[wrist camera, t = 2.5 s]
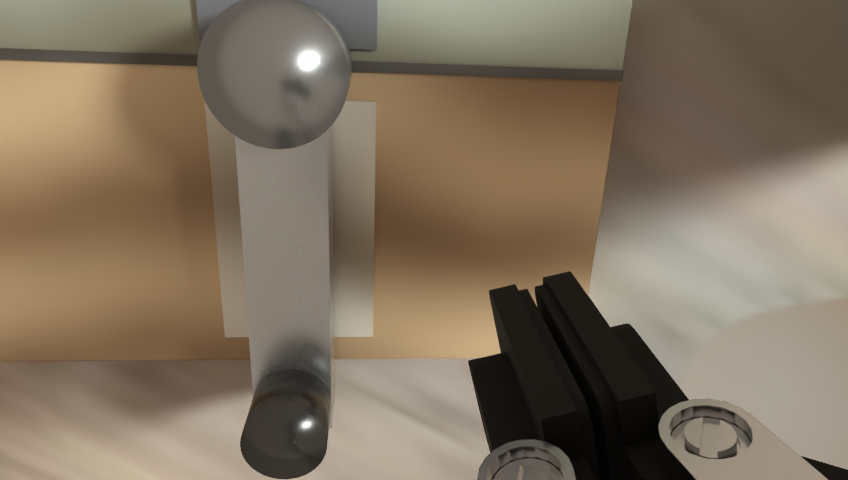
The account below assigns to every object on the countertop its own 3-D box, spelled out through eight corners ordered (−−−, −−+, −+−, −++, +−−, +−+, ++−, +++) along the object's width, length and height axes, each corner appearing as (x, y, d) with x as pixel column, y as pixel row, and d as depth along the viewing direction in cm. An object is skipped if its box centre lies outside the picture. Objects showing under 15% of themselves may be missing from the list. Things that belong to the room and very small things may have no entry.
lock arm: (220, -6, 17) (174, -9, 13) (352, 0, 17) (346, -2, 13) (249, 393, 21) (221, 480, 17) (352, 392, 22) (348, 477, 18)
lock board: (568, 340, 23) (608, 407, 19) (19, 342, 22) (-59, 417, 18) (677, -414, 16) (779, -555, 12) (-172, -507, 14) (-387, -711, 10)
